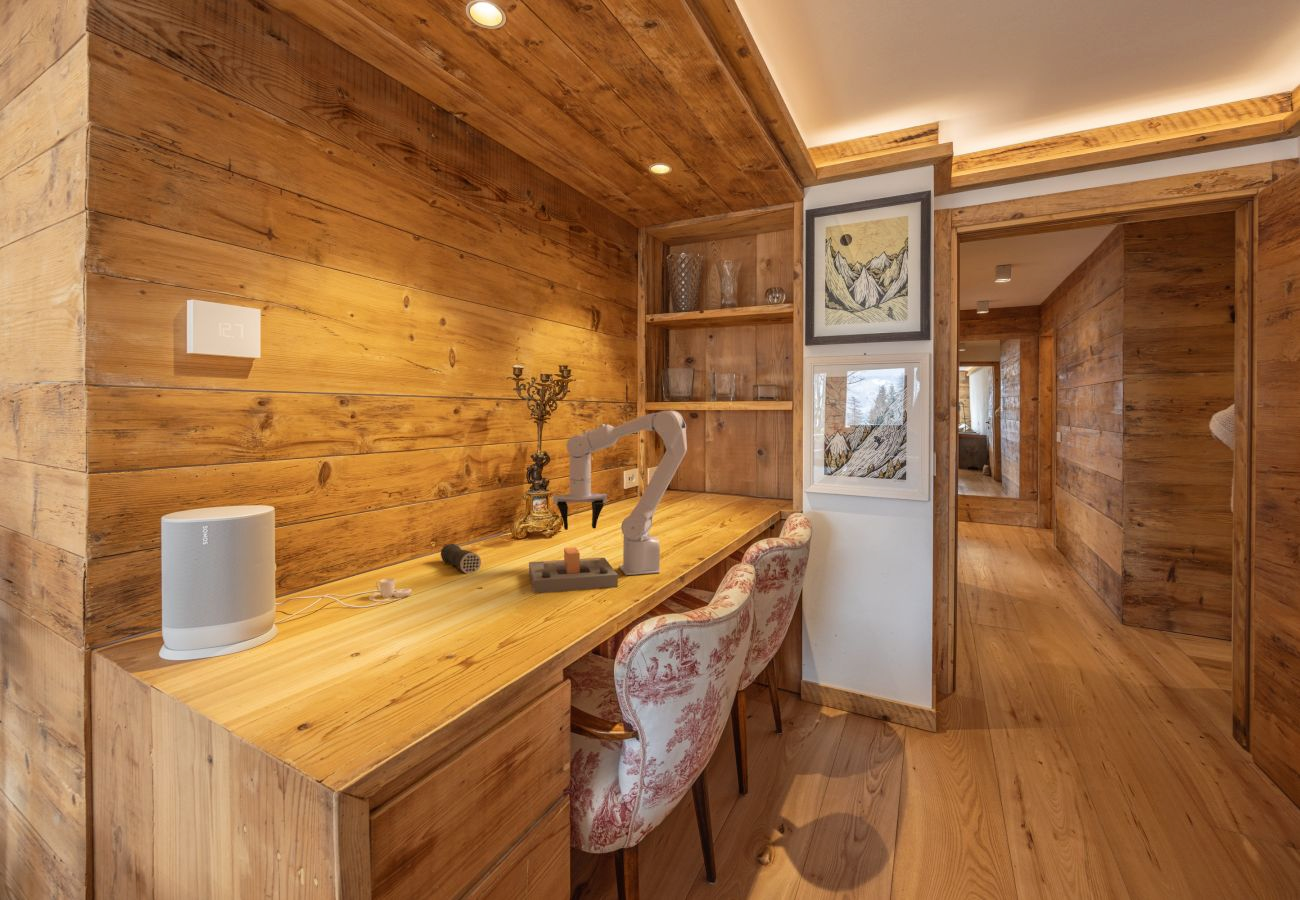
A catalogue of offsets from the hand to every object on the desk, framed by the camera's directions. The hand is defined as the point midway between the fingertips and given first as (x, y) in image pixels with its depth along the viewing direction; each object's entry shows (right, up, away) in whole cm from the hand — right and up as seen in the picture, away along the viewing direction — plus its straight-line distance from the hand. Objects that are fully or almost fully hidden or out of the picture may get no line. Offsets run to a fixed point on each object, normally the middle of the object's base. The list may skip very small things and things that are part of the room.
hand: (580, 528), depth 155 cm
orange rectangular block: (-1, -9, -12) cm, 15 cm away
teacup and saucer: (-39, -13, -28) cm, 50 cm away
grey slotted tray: (-1, -11, -12) cm, 16 cm away
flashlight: (-32, -11, -2) cm, 34 cm away
